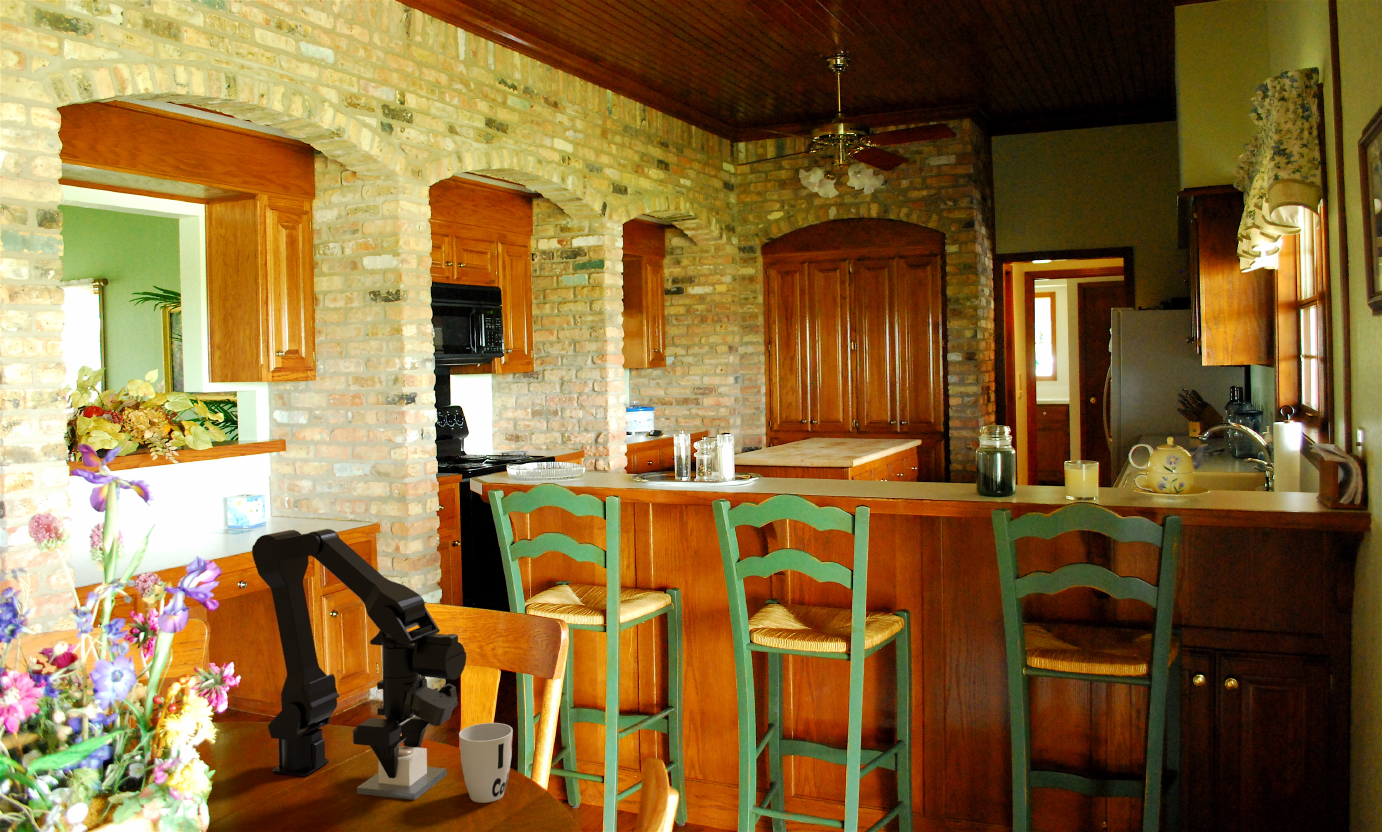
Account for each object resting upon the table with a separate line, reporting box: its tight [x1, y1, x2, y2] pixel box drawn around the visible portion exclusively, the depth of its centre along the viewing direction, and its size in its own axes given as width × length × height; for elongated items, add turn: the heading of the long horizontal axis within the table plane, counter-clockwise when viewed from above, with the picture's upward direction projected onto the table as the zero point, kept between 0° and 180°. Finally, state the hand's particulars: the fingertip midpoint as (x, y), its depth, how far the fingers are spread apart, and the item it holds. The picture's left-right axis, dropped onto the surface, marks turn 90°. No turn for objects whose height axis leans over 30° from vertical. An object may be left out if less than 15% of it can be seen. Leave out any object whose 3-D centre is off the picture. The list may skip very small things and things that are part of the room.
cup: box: [458, 722, 514, 804], centre depth 151 cm, size 8×8×10 cm
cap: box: [377, 745, 428, 786], centre depth 156 cm, size 5×5×4 cm
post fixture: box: [356, 766, 448, 801], centre depth 156 cm, size 10×10×4 cm
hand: (402, 770), depth 156 cm, fingers open, 6 cm apart
